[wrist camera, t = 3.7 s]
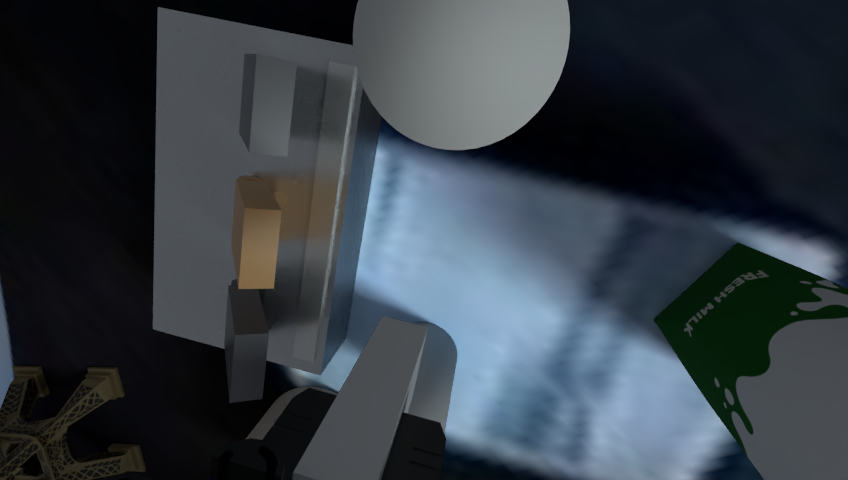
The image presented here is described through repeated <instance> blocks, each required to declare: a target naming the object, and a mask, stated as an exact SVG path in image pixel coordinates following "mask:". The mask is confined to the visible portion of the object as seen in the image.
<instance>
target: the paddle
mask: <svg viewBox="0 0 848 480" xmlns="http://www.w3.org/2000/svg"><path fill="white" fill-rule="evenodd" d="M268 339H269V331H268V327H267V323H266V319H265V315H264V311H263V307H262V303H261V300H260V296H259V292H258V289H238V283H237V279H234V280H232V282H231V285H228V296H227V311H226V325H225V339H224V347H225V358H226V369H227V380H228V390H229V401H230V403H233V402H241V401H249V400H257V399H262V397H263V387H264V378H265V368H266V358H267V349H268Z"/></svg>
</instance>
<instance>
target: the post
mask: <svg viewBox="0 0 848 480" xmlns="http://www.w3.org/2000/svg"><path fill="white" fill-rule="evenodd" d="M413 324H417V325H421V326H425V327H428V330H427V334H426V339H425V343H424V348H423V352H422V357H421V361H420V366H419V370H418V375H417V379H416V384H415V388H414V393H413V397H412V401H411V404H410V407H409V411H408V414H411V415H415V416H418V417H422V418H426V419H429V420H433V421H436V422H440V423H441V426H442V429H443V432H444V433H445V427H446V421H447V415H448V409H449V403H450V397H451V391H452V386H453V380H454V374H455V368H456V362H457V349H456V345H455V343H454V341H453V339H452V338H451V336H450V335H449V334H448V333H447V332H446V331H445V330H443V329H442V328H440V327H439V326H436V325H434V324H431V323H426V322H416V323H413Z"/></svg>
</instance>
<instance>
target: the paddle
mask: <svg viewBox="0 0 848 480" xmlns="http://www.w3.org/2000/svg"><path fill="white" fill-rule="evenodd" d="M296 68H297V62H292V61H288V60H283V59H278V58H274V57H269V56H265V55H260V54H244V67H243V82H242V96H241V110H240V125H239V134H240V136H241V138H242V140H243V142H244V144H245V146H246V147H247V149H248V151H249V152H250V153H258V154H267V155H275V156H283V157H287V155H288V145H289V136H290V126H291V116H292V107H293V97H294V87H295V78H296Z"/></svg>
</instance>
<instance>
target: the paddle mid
mask: <svg viewBox="0 0 848 480" xmlns="http://www.w3.org/2000/svg"><path fill="white" fill-rule="evenodd" d="M281 213H282V210H281V208H280V206H279V204H278V202H277V201H276V199H275V197H274V195H273V193H272V191H271V189H270V188H269V186H268V184H267V182H266V181H262V179H261V178H258V177H254V176H239V179H236V182H235V196H234V210H233V225H232V239H231V249H232V255H233V261H234V266H235V272H236V278H237V283H238V289H274V281H275V271H276V262H277V252H278V242H279V233H280V223H281Z"/></svg>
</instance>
